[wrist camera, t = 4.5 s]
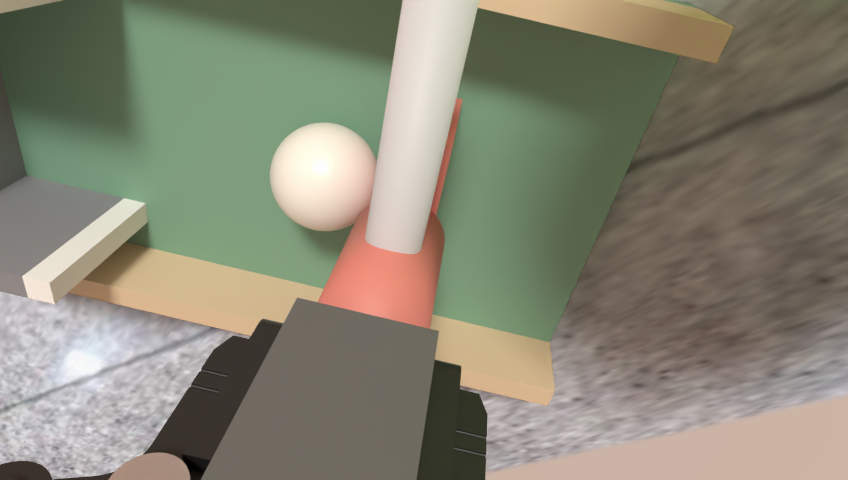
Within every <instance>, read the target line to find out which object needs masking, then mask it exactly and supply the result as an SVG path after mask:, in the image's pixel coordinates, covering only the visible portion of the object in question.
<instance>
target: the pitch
mask: <svg viewBox="0 0 848 480" xmlns="http://www.w3.org/2000/svg"><path fill="white" fill-rule="evenodd" d="M402 1H403V0H0V291H1V292H6V293H10V294H14V295H18V296H22V297H27V298H31V299H35V300H39V301H44V302H48V303H52V304H56V303H57V302H58V301H59V300H60V299H61V298H62V297H63V296H65V295H66V294H67V293H71V294H76V295H80V296H84V297H88V298H93V299H97V300H101V301H105V302H110V303H114V304H118V305H122V306H127V307H131V308H135V309H139V310H143V311H148V312H152V313H156V314H160V315H165V316H169V317H173V318H177V319H182V320H186V321H190V322H194V323H199V324H203V325H207V326H211V327H215V328H220V329H224V330H228V331H232V332H237V333H241V334H245V335H249V336H251V335H252V333H253V332H254V330H255V328H256V327H257V325H258V323H259V322H260V321H261V320H262V319H267V320H271V321H276V322H280V323H284V321H285V320H286V318H287V316H288V314H289V312H290V310H291V308H292V306H293V304H294V303H295V301H296V299H297V298H302V299H306V300H310V301H314V302H318V300H319V298H320V296H321V294H322V292H323V289H324V287H325V285H326V283H327V281H328V279H329V277H330V275H331V272H332V270H333V268H334V266H335V264H336V262H337V260H338V258H339V256H340V253H341V251H342V249H343V247H344V245H345V243H346V241H347V239H348V236H349V234H350V232H351V230H352V228H353V226H354V224H355V223H354V224H352V225H350V226H348V227H346V228H343V229H340V230H335V231H317V230H312V229H309V228H306V227H303V226H301V225H299V224H297V223H296V222H294V221H293V220H292V219H290V218H289V217H288V216H287V215H286V214H285V213H284V212H283V211H282V209H281V208H280V207H279V205H278V203H277V202H276V200H275V198H274V196H273V192H272V189H271V184H270V168H271V163H272V159H273V156H274V154H275V152H276V150H277V148H278V147H279V145H280V144H281V142H282V141H283V140H284V139H285V138H286V137H287V136H288V135H290V134H291V133H292V132H293V131H295V130H297V129H299V128H301V127H303V126H306V125H309V124H313V123H322V122H324V123H334V124H339V125H342V126H344V127H347V128H349V129H351V130H352V131H354V132H356V133H357V134H358V135H360V136H361V137H362V138H363V139H364V140H365V141H366V142H367V144H368V145H369V146H370V148H371V149H372V151H373V153H374V155H375V157H376V160H377V159H378V153H379V146H380V140H381V134H382V127H383V121H384V115H385V108H386V102H387V96H388V90H389V83H390V77H391V71H392V64H393V58H394V52H395V45H396V39H397V33H398V26H399V20H400V14H401V8H402ZM733 29H734V26H732V25H730V24H728V23H726V22H724V21H722V20H720V19H718V18H716V17H715V16H713V15H711V14H709V13H707V12H705V11H703V10H701V9H699V8H697V7H695V6H693V5H691V4H688V3H683V2H679V1H675V0H479V4H478V8H477V13H476V17H475V21H474V26H473V30H472V34H471V38H470V43H469V47H468V51H467V56H466V60H465V64H464V68H463V73H462V77H461V81H460V86H459V90H458V94H457V98H460V99H463V100H462V105H461V110H460V114H459V119H458V124H457V128H456V133H455V138H454V143H453V147H452V151H451V155H450V160H449V164H448V168H447V172H446V176H445V180H444V184H443V189H442V193H441V197H440V201H439V205H438V209H437V213H436V216H437V218H438V219H439V221H440V222H441V225H442V227H443V230H444V235H445V245H444V250H443V256H442V262H441V268H440V273H439V279H438V285H437V290H436V296H435V302H434V308H433V313H432V319H431V325H430V329H433V330H437V331H439V335H438V341H437V348H436V355H435V360H439V361H443V362H447V363H452V364H456V365H460V366H461V380H460V385H461V386H465V387H470V388H474V389H478V390H482V391H487V392H491V393H495V394H499V395H504V396H508V397H512V398H516V399H520V400H525V401H529V402H533V403H537V404H542V405H546V406H548V404H549V402H550V400H551V398H552V396H553V394H554V392H555V387H554V378H553V368H552V359H551V349H550V341H551V338H552V336H553V334H554V332H555V329H556V327H557V325H558V323H559V321H560V318H561V316H562V314H563V312H564V310H565V307H566V305H567V303H568V301H569V298H570V296H571V294H572V292H573V290H574V287H575V285H576V283H577V281H578V279H579V276H580V274H581V272H582V270H583V267H584V265H585V263H586V261H587V259H588V256H589V254H590V252H591V250H592V248H593V245H594V243H595V241H596V239H597V236H598V234H599V232H600V230H601V228H602V225H603V223H604V221H605V219H606V217H607V214H608V212H609V210H610V208H611V205H612V203H613V201H614V199H615V197H616V194H617V192H618V190H619V188H620V186H621V183H622V181H623V179H624V177H625V174H626V172H627V170H628V168H629V166H630V163H631V161H632V159H633V157H634V155H635V152H636V150H637V148H638V146H639V143H640V141H641V139H642V137H643V135H644V132H645V130H646V128H647V126H648V124H649V121H650V119H651V117H652V115H653V112H654V110H655V108H656V106H657V104H658V101H659V99H660V97H661V95H662V93H663V90H664V88H665V86H666V84H667V81H668V79H669V77H670V75H671V73H672V70H673V68H674V66H675V64H676V62H677V59H678V57H679V55H682V56H686V57H690V58H695V59H699V60H703V61H708V62H712V63H716V64H717V62H718V60H719V58H720V56H721V54H722V52H723V50H724V48H725V45H726V43H727V41H728V39H729V37H730V35H731V33H732V31H733Z"/></svg>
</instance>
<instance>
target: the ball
mask: <svg viewBox="0 0 848 480" xmlns="http://www.w3.org/2000/svg"><path fill="white" fill-rule="evenodd" d="M376 165H377V160H376V157H375V155H374V153H373V151H372V149H371V148H370V146H369V145H368V144H367V142H366V141H365V140H364V139H363V138H362V137H361V136H360V135H358V134H357V133H356V132H354V131H352V130H351V129H349V128H347V127H344V126H342V125H339V124H334V123H324V122H322V123H313V124H309V125H306V126H303V127H301V128H299V129H297V130H295V131H293V132H292V133H291V134H290V135H288V136H287V137H286V138H285V139H284V140H283V141H282V142H281V144H280V145H279V147H278V148H277V150H276V152H275V154H274V156H273V159H272V163H271V168H270V184H271V189H272V192H273V196H274V198H275V200H276V202H277V203H278V205H279V207H280V208H281V209H282V211H283V212H284V213H285V214H286V215H287V216H288V217H289V218H290V219H292V220H293V221H294V222H296V223H297V224H299V225H301V226H303V227H306V228H309V229H312V230H317V231H335V230H340V229H343V228H346V227H348V226H350V225H352V224H354V223H355V222H356V219H357V217H358V216H359V214H360V212H361V211H362V210H363V209H364V208H365V207H366V206H367V205H369V204H370V203H371V197H372V190H373V184H374V178H375V171H376Z"/></svg>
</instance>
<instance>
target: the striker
mask: <svg viewBox="0 0 848 480" xmlns="http://www.w3.org/2000/svg"><path fill="white" fill-rule="evenodd" d="M478 4H479V0H403V1H402V8H401V14H400V20H399V26H398V33H397V39H396V45H395V52H394V58H393V64H392V71H391V77H390V83H389V90H388V96H387V102H386V108H385V115H384V121H383V127H382V134H381V140H380V146H379V153H378V159H377V165H376V171H375V178H374V184H373V190H372V197H371V203H370V204H369V205H367V206H366V207H365V208H364V209H363V210H362V211H361V212H360V214H359V216H358V217H357V219H356V222H355V224H354V226H353V228H352V230H351V232H350V234H349V236H348V239H347V241H346V243H345V245H344V247H343V249H342V251H341V253H340V256H339V258H338V260H337V262H336V264H335V266H334V268H333V270H332V272H331V275H330V277H329V279H328V281H327V283H326V285H325V287H324V289H323V292H322V294H321V296H320V298H319V300H318V302H314V301H310V300H306V299H302V298H297V299H296V301H295V303H294V304H293V306H292V308H291V310H290V312H289V314H288V316H287V318H286V320H285V321H284V323H283V325H282V327H281V329H280V331H279V333H278V335H277V337H276V338H275V340H274V342H273V344H272V346H271V348H270V350H269V352H268V354H267V355H266V357H265V359H264V361H263V363H262V365H261V367H260V369H259V371H258V372H257V374H256V376H255V378H254V380H253V382H252V384H251V386H250V388H249V389H248V391H247V393H246V395H245V397H244V399H243V401H242V403H241V405H240V406H239V408H238V410H237V412H236V414H235V416H234V418H233V420H232V422H231V423H230V425H229V427H228V429H227V431H226V433H225V435H224V437H223V439H222V440H221V442H220V444H219V446H218V448H217V450H216V452H215V454H214V456H213V457H212V459H211V461H210V463H209V465H208V467H207V469H206V471H205V473H204V474H203V476H202V478H201V480H416V479H417V473H418V466H419V460H420V453H421V446H422V440H423V433H424V427H425V420H426V414H427V407H428V400H429V394H430V387H431V381H432V374H433V368H434V361H435V355H436V348H437V341H438V335H439V331H437V330H433V329H430V325H431V319H432V313H433V308H434V302H435V296H436V290H437V285H438V279H439V273H440V268H441V262H442V256H443V250H444V245H445V235H444V230H443V227H442V225H441V222H440V221H439V219H438V218H437V216H436V213H437V209H438V205H439V201H440V197H441V193H442V189H443V184H444V180H445V176H446V172H447V168H448V164H449V160H450V155H451V151H452V147H453V143H454V138H455V133H456V128H457V124H458V119H459V114H460V110H461V105H462V100H463V99H460V98H457V94H458V90H459V86H460V81H461V77H462V73H463V68H464V64H465V60H466V56H467V51H468V47H469V43H470V38H471V34H472V30H473V26H474V21H475V17H476V13H477V8H478Z"/></svg>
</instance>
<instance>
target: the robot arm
mask: <svg viewBox="0 0 848 480" xmlns="http://www.w3.org/2000/svg"><path fill="white" fill-rule="evenodd" d="M282 325H283V323H280V322H276V321H271V320H267V319H262V320H261V321H260V322H259V323H258V325H257V327H256V328H255V330H254V332H253V333H252V335H251V337H250V338H249V339H246V338H242V337H237V336H232V337H231V338H229V339H228V340H227V341H225V342H224V343H222V344H221V345H220V346H218V347H217V348H215V349H214V350H213V352H212V353H211V355H210V356H209V358H208V359H207V361H206V362H205V364H204V365H203V367H202V370H201V372H199V373H198V375H197V376H196V378H195V379H194V381H193V382H192V385H191V387H189V388H188V390H187V391H186V393H185V394H184V396H183V398H182V399H181V401H180V402H179V404H178V405H177V407H176V408H175V410H174V411H173V413H172V414H171V416H170V417H169V419H168V420H167V422H166V423H165V425H164V427H163V428H162V430H161V431H160V433H159V434H158V436H157V437H156V439H155V440H154V442H153V443H152V445H151V446H150V447H149V449H148V450H147V451H146V452H145V453H144V454H143V455H141V456H138V457H136V458H133V459H131V460H130V461H128V462H126V463H125V464H123V465H122V466H121V467H119V468H118V469H117V470H116V471H115V472H112V473H109V474H105V475H99V476H91V477H79V478H66V479H54V480H201V478H202V476H203V474H204V473H205V471H206V469H207V467H208V465H209V463H210V461H211V459H212V457H213V456H214V454H215V452H216V450H217V448H218V446H219V444H220V442H221V440H222V439H223V437H224V435H225V433H226V431H227V429H228V427H229V425H230V423H231V422H232V420H233V418H234V416H235V414H236V412H237V410H238V408H239V406H240V405H241V403H242V401H243V399H244V397H245V395H246V393H247V391H248V389H249V388H250V386H251V384H252V382H253V380H254V378H255V376H256V374H257V372H258V371H259V369H260V367H261V365H262V363H263V361H264V359H265V357H266V355H267V354H268V352H269V350H270V348H271V346H272V344H273V342H274V340H275V338H276V337H277V335H278V333H279V331H280V329H281V327H282ZM460 380H461V366H460V365H456V364H452V363H447V362H443V361H439V360H435V361H434V368H433V374H432V381H431V387H430V394H429V400H428V407H427V414H426V420H425V427H424V433H423V440H422V446H421V453H420V460H419V466H418V473H417V479H416V480H485V468H486V458H485V455H486V436H487V413H486V410H485V408H484V405H483V403H482V400H481V398H480V395H479V394H477V393H472V392H468V391H464V390H460ZM0 480H52V477H51V475H50V473H49V472H48V470H47V469H46V468H45V467H43V466H42V465H40V464H37V463H34V462H29V461H16V462H9V463H5V464H1V465H0Z"/></svg>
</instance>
